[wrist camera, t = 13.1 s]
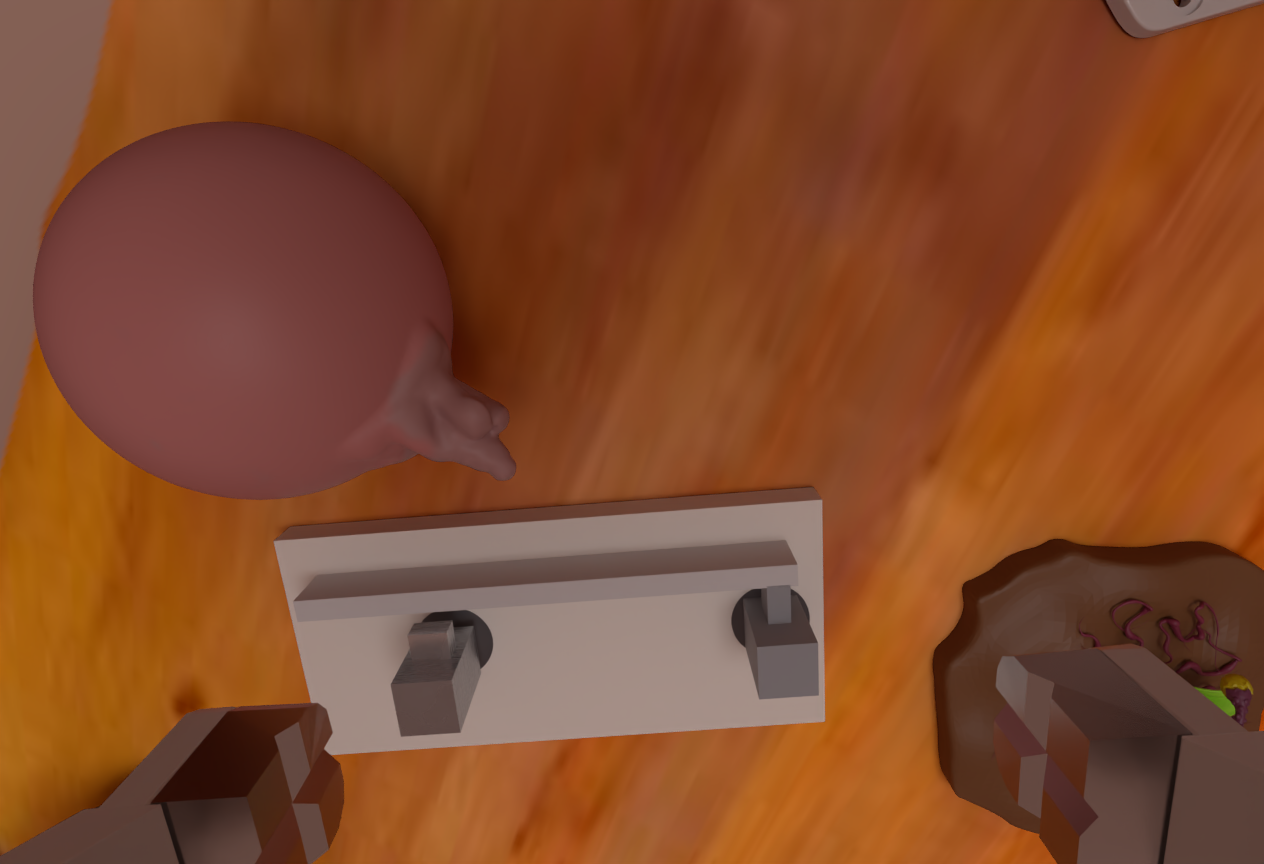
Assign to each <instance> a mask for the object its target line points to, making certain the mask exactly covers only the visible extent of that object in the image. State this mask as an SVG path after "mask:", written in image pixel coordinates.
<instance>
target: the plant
mask: <svg viewBox="0 0 1264 864" xmlns="http://www.w3.org/2000/svg"><path fill="white" fill-rule="evenodd" d="M962 592H963V600H964V608H963V612H962V616H961V618H960V620H959V622H958V624H957V625H956V627H955V629H954V630H953V631H952V632H951V634H950V635H949V636H948V637H947V638H946V639H944V640H943V641H942V642H941V643H940V644H939V645H938V646H937V648H936V649H935V652H934V657H933V671H934V681H935V701H936V712H937V722H938V750H939V758H940V765H941V769H942V771H943V773H944V775H945V776H946V778H947V780H948V782H949V783H950V785H951V787H952V789H953V790H954V792H955V794H956V795H957V796H958V797H960V798H963V799H965V800H967V801H969V802H971V803H974V804H976V805H978V806H981V807H983V808H985V809H987V810H989V811H991V812H993V813H995V814H996V815H998V816H1000V817H1002V818H1003V819H1004V820H1006V821H1007V822H1008V823H1010V824H1011V825H1013V826H1015V827H1018V828H1021V829H1024V830H1027V831H1031V832H1034V833H1038V834H1040V820H1041V819H1040V818H1039V817H1037V816H1035V815H1034V814H1032V813H1030V812H1029V811H1027V810H1025V809H1024V808H1022V807H1021V806H1019V805H1018V804H1017V803H1016V801H1015V800H1014V798H1013V796H1012V795H1011V793H1010V792H1009V790H1008V789H1007V787H1006V785H1005V782H1004V780H1003V778H1002V776H1001V773H1000V771H999V768H998V764H997V759H996V755H995V750H994V745H993V734H994V719H995V718H996V716H997V715H998V714H999V713H1000V712H1001V710H1002V709H1003V708H1004V707H1005V705H1006V704H1007V703H1008V702H1007V701H1006V700H1005V698H1004V697H1003V696H1002V694H1001V693H1000V692H999V691H998V689H997V688H996V678H997V668H998V665H999V663H1000V661H1001V658H1002V656H1012V655H1024V654H1036V653H1047V652H1059V651H1071V650H1082V649H1088V648H1094V647H1104V646H1114V645H1123V644H1135V645H1138V646H1141V647H1144V648H1146V649H1147V650H1149V651H1150V652H1151V653H1152V654H1154V655H1155V656H1156V657H1157V658H1158V659H1160V660H1161V661H1162V662H1163V663H1165V664H1166V665H1167V666H1168V667H1170V668H1171V669H1172V670H1173V671H1174V672H1176V673H1177V674H1178V675H1179V676H1181V677H1182V678H1183V679H1184V680H1186V681H1187V682H1188V683H1189V684H1190V685H1192V686H1193V687H1194V688H1195V689H1197V690H1198V691H1199V692H1200V693H1202V694H1203V695H1204V696H1205V697H1207V698H1208V699H1209V700H1210V701H1211V702H1213V703H1214V704H1215V705H1216V706H1218V707H1219V708H1220V709H1221V710H1223V711H1224V712H1225V713H1226V714H1227V715H1229V716H1230V717H1231V718H1232V719H1234V720H1235V721H1236V722H1237V723H1239V724H1240V725H1241V726H1242V727H1243V728H1245V729H1246V730H1247V731H1248V732H1254V731H1259V726H1260V720H1261V713H1262V710H1263V708H1264V571H1263V570H1262V569H1261V568H1259V567H1258V566H1256V565H1255V564H1253V563H1252V562H1250V561H1248V560H1246V559H1244V558H1242V557H1241V556H1239V555H1237V554H1235V553H1233V552H1231V551H1229V550H1227V549H1226V548H1224V547H1221V546H1219V545H1215V544H1212V543H1207V542H1176V543H1169V544H1162V545H1156V546H1150V547H1139V548H1125V547H1099V546H1084V545H1078V544H1074V543H1071V542H1069V541H1066V540H1063V539H1053V540H1049V541H1047V542H1046V543H1044V544H1042V545H1040V546H1038V547H1035V548H1031V549H1027V550H1023V551H1020V552H1017V553H1015V554H1012V555H1010V556H1008V557H1006V558H1005V559H1003V560H1002V561H1001V562H999V563H998V564H997V565H996V566H995V567H993V568H992V569H991V570H989V571H988V572H986V573H984V574H982V575H980V576H978V577H976V578H974V579H972V580H969V581H967V582H965V583H964V584H963V588H962Z"/></svg>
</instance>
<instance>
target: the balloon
mask: <svg viewBox="0 0 1264 864" xmlns="http://www.w3.org/2000/svg"><path fill="white" fill-rule="evenodd" d="M33 309H34V319H35V326H36V331H37V336H38V340H39V344H40V347H41V350H42V353H43V356H44V359H45V362H46V364H47V366H48V369H49V371H50V373H51V375H52V377H53V379H54V381H55V383H56V385H57V387H58V388H59V390H60V392H61V393H62V395H63V396H64V398H65V399H66V401H67V402H68V404H69V405H70V407H71V408H72V409H73V411H74V412H75V413H76V414H77V416H78V417H79V418H80V419H81V420H82V421H83V423H84V424H85V425H86V426H87V427H88V428H89V429H90V430H91V431H92V432H93V433H94V434H95V435H96V436H97V437H98V438H99V439H100V440H102V441H103V442H104V443H105V444H106V445H107V446H109V447H110V448H111V449H112V450H114V451H115V452H116V453H118V454H119V455H121V456H122V457H123V458H125V459H126V460H128V461H129V462H131V463H133V464H134V465H136V466H138V467H139V468H141V469H143V470H145V471H146V472H148V473H150V474H152V475H154V476H156V477H158V478H161V479H163V480H165V481H167V482H170V483H172V484H175V485H178V486H181V487H184V488H187V489H191V490H194V491H198V492H201V493H206V494H210V495H215V496H221V497H228V498H236V499H255V500H263V499H281V498H290V497H296V496H301V495H306V494H311V493H315V492H318V491H322V490H325V489H328V488H331V487H334V486H337V485H339V484H342V483H344V482H347V481H349V480H351V479H353V478H355V477H357V476H359V475H361V474H363V473H364V472H367V471H369V470H373V469H378V468H382V467H385V466H387V465H391V464H396V463H400V462H403V461H406V460H408V459H410V458H412V457H414V456H415V455H417V454H420V455H422V456H424V457H426V458H427V459H430V460H432V461H436V462H445V461H453V462H457V463H460V464H462V465H466V466H468V467H471V468H473V469H475V470H478V471H483V472H488V473H490V474H491V475H492V476H493V477H494V478H495V479H497V480H501V481H503V480H509V479H511V478H512V477H513V476H514V474H515V472H516V463H515V461H514V460H513V459H512V457H511V456H510V453H509V451H508V449H507V448H506V447H505V446H504V444H503V443H502V442H501V441H500V439H499V433H500V432H502V431H503V430H504V429H505V428H506V427H507V425H508V422H509V412H508V410H507V409H506V408H505V407H504V406H503V405H502V404H500V403H499V402H496V401H494V400H492V399H490V398H489V397H487V396H486V395H484V394H482V393H481V392H479V391H477V390H475V389H473V388H472V387H470V386H468V385H467V384H465V383H463V382H462V381H460V380H458V379H456V378H455V377H454V375H453V372H452V359H451V349H452V341H453V308H452V300H451V294H450V289H449V284H448V280H447V277H446V273H445V270H444V267H443V264H442V262H441V259H440V256H439V254H438V252H437V250H436V247H435V245H434V243H433V241H432V239H431V238H430V236H429V234H428V232H427V231H426V229H425V227H424V226H423V224H422V223H421V221H420V220H419V218H418V217H417V216H416V214H415V213H414V212H413V210H412V209H411V208H410V206H409V205H408V204H407V203H406V202H405V201H404V199H403V198H402V197H401V196H400V195H399V194H398V193H397V192H396V191H395V190H394V189H393V188H392V187H391V186H390V185H389V184H388V183H387V182H386V181H384V180H383V179H382V178H381V177H380V176H379V175H377V174H376V173H375V172H374V171H372V170H371V169H370V168H368V167H367V166H366V165H364V164H363V163H361V162H360V161H358V160H357V159H355V158H353V157H352V156H350V155H348V154H347V153H345V152H343V151H341V150H339V149H338V148H336V147H334V146H332V145H329V144H327V143H325V142H323V141H320V140H318V139H316V138H313V137H311V136H308V135H305V134H302V133H299V132H295V131H292V130H288V129H284V128H280V127H275V126H270V125H264V124H258V123H248V122H209V123H199V124H192V125H186V126H181V127H177V128H172V129H169V130H165V131H162V132H159V133H156V134H153V135H150V136H148V137H145V138H143V139H140V140H138V141H136V142H134V143H132V144H130V145H128V146H126V147H124V148H122V149H120V150H119V151H117V152H115V153H114V154H112V155H111V156H109V157H108V158H106V159H105V160H104V161H102V162H101V163H100V164H98V165H97V166H96V167H95V168H93V169H92V170H91V171H90V172H89V173H88V174H87V175H86V176H85V177H84V178H83V179H82V180H81V181H80V182H79V183H78V184H77V185H76V186H75V187H74V188H73V189H72V190H71V192H70V193H69V194H68V195H67V197H66V198H65V200H64V201H63V202H62V204H61V205H60V207H59V208H58V210H57V212H56V213H55V215H54V217H53V219H52V221H51V223H50V225H49V227H48V229H47V231H46V234H45V236H44V239H43V241H42V244H41V247H40V251H39V254H38V258H37V263H36V268H35V274H34V284H33Z"/></svg>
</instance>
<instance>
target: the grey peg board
mask: <svg viewBox="0 0 1264 864" xmlns="http://www.w3.org/2000/svg"><path fill="white" fill-rule="evenodd" d="M274 545H275V550H276V554H277V558H278V562H279V567H280V571H281V575H282V580H283V584H284V588H285V592H286V597H287V601H288V605H289V610H290V614H291V618H292V622H293V627H294V631H295V635H296V640H297V644H298V648H299V652H300V657H301V661H302V665H303V669H304V674H305V678H306V682H307V687H308V691H309V695H310V699H311V703H319V704H320V705H321V706H323V707H324V708H326V709H327V712H328V716H329V720H330V723H331V727H332V731H333V733H332V735H331V737H330V739H329V741H328V742H327V744H326V746H325V748H324V749H325V750H326V751H327V752H328V753H329V754H330V755H337V754H352V753H367V752H382V751H396V750H411V749H426V748H441V747H456V746H471V745H485V744H500V743H515V742H530V741H545V740H560V739H575V738H589V737H604V736H619V735H634V734H649V733H664V732H678V731H693V730H708V729H723V728H738V727H753V726H767V725H782V724H797V723H812V722H825V687H824V608H823V529H822V499H821V497H820V496H819V494H818V493H817V492H816V490H815V489H814V487H806V488H793V489H780V490H767V491H753V492H740V493H727V494H714V495H701V496H687V497H674V498H661V499H648V500H635V501H622V502H608V503H595V504H582V505H569V506H556V507H542V508H529V509H516V510H503V511H490V512H476V513H463V514H450V515H437V516H424V517H411V518H397V519H384V520H371V521H358V522H345V523H331V524H318V525H305V526H292V527H289V528H288V529H287V530H286V531H285V532H283V533H282V534H281V535H280V536H279V537H278V538H276V539H275V540H274ZM450 620H452V622H453V627H467V626H474V632H475V638H476V644H477V651H478V657H479V663H480V670H481V675H480V678H479V681H478V684H477V687H476V689H475V692H474V695H473V698H472V701H471V704H470V707H469V710H468V713H467V715H466V718H465V721H464V724H463V727H462V730H461V733H449V734H434V735H420V736H405V737H401V735H400V730H399V725H398V720H397V715H396V710H395V705H394V700H393V695H392V690H391V683H392V681H393V679H394V677H395V675H396V673H397V671H398V670H399V668H400V666H401V664H402V662H403V660H404V658H405V657H406V655H407V653H408V651H409V649H410V647H409V642H408V636H407V635H408V633H409V632H410V630H411V628H412V626H413V625H414V623H423V622H437V621H450Z"/></svg>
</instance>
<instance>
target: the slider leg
mask: <svg viewBox="0 0 1264 864" xmlns="http://www.w3.org/2000/svg"><path fill="white" fill-rule="evenodd" d="M407 636H408V642H409V647H410V649H409V651H408V653H407V655H406V657H405V658H404V660H403V662H402V664H401V666H400V668H399V670H398V671H397V673H396V675H395V677H394V679H393V681H392V683H391V690H392V695H393V700H394V705H395V710H396V715H397V720H398V725H399V730H400V735H401V737H405V736H420V735H434V734H449V733H461V730H462V727H463V724H464V721H465V718H466V715H467V713H468V710H469V707H470V704H471V701H472V698H473V695H474V692H475V689H476V687H477V684H478V681H479V678H480V675H481V670H480V663H479V657H478V651H477V644H476V638H475V632H474V626H467V627H453V622H452V620H450V621H437V622H423V623H414V625H413V626H412V628H411V630H410V632H409V633H408V635H407Z"/></svg>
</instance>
